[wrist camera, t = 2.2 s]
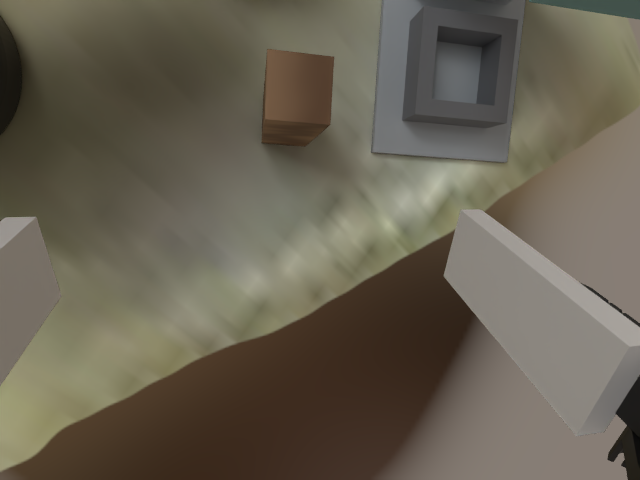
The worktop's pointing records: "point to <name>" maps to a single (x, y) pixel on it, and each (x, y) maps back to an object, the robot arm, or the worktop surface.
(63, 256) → the worktop surface
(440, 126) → the awning socket
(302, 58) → the peg
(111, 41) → the worktop surface
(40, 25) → the worktop surface
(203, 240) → the worktop surface
